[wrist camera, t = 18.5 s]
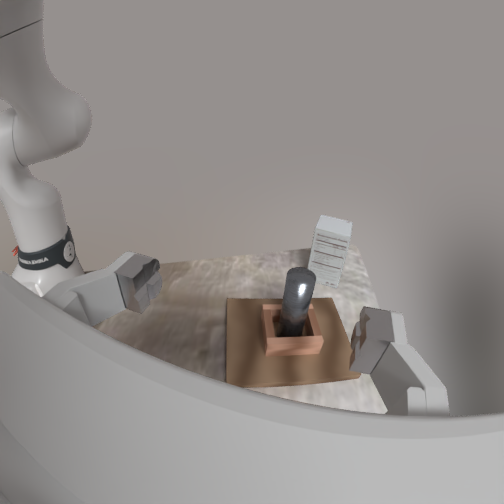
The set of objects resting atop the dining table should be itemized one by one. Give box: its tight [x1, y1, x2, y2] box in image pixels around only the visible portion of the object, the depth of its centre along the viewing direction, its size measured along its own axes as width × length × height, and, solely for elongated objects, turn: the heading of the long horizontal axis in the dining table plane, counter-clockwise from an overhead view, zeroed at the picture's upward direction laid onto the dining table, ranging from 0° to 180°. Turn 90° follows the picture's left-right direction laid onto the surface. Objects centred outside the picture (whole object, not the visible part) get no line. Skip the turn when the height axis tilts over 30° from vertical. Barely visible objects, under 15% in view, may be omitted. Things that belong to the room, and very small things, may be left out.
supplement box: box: [308, 215, 353, 288], centre depth 56 cm, size 7×7×13 cm
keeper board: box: [226, 298, 361, 388], centre depth 42 cm, size 20×18×4 cm
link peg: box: [277, 267, 316, 337], centre depth 40 cm, size 4×4×12 cm
